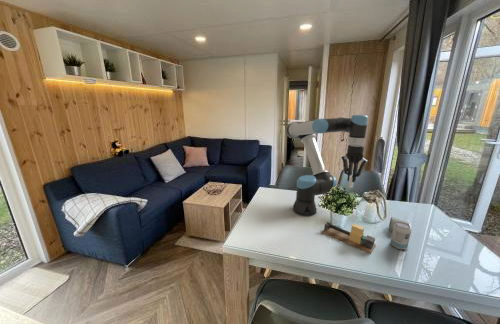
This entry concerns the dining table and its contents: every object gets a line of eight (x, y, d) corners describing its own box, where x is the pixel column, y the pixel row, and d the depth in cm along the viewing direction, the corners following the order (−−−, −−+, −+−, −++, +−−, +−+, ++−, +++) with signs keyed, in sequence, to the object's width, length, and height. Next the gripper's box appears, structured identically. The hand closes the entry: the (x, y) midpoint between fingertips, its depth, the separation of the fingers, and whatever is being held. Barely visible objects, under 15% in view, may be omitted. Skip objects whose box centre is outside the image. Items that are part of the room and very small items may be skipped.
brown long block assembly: (322, 232, 112) (322, 223, 110) (328, 226, 117) (329, 218, 116) (370, 254, 95) (372, 244, 94) (375, 246, 101) (377, 236, 99)
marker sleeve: (349, 239, 103) (350, 226, 101) (352, 236, 106) (354, 222, 104) (359, 244, 100) (361, 230, 98) (362, 240, 103) (364, 226, 101)
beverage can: (405, 243, 102) (409, 222, 99) (408, 252, 96) (414, 230, 93) (388, 240, 105) (392, 219, 102) (391, 248, 99) (395, 227, 96)
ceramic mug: (407, 238, 106) (410, 225, 104) (388, 232, 111) (390, 220, 109) (405, 228, 115) (408, 216, 113) (388, 223, 119) (390, 212, 117)
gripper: (340, 144, 108) (335, 185, 114) (366, 148, 98) (360, 192, 105) (346, 142, 113) (342, 182, 119) (372, 145, 103) (365, 188, 110)
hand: (350, 187), depth 112 cm, fingers closed
